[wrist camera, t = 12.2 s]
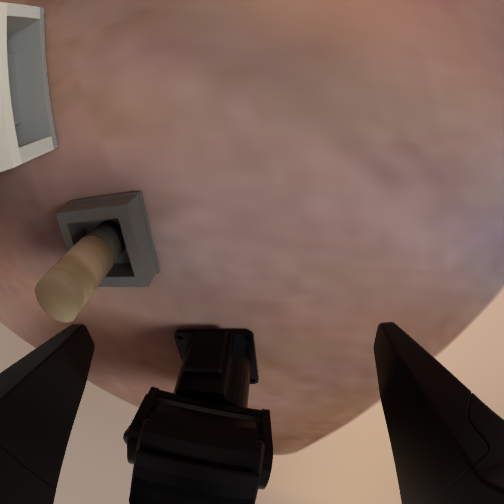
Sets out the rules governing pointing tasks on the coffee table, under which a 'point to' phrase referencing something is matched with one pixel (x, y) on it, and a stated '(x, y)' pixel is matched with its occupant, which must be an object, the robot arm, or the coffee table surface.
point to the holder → (133, 229)
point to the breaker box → (23, 87)
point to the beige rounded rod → (80, 272)
